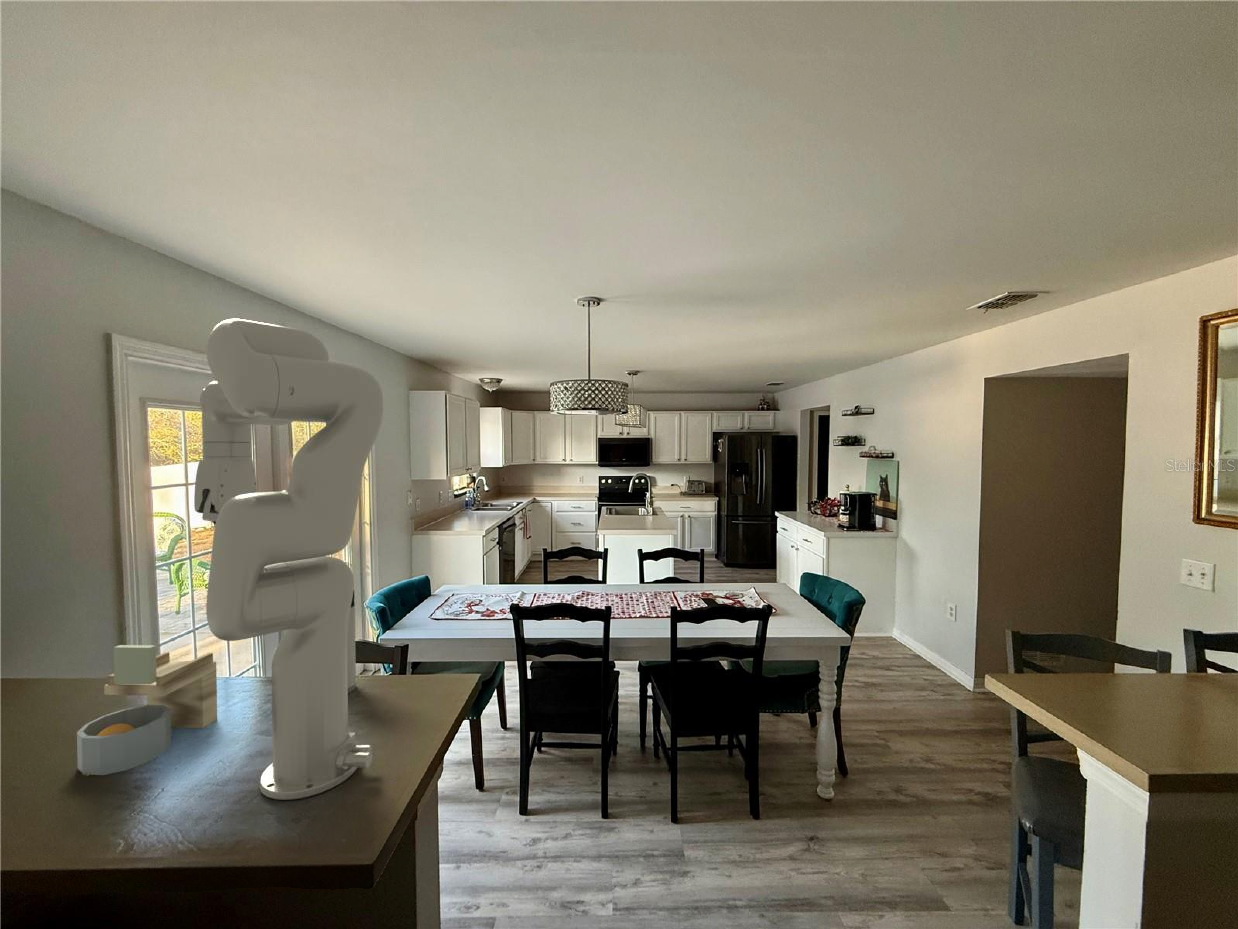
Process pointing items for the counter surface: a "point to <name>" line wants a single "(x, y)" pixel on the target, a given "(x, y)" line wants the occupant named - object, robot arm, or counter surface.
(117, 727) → the ball
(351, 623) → the travel mug
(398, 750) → the counter surface
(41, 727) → the counter surface
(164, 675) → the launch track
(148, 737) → the gray oval basket
